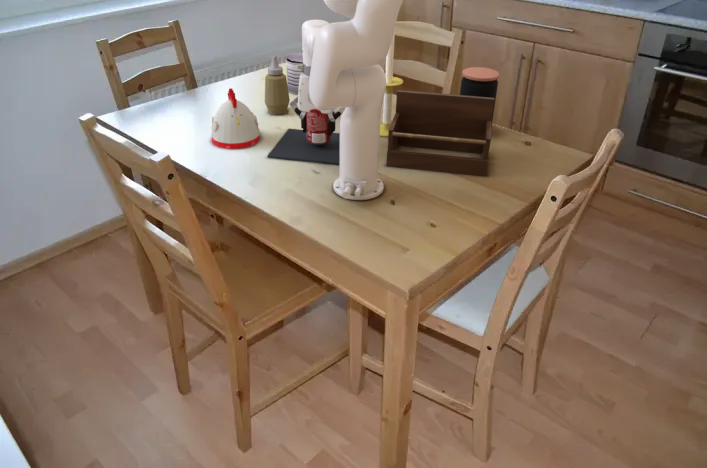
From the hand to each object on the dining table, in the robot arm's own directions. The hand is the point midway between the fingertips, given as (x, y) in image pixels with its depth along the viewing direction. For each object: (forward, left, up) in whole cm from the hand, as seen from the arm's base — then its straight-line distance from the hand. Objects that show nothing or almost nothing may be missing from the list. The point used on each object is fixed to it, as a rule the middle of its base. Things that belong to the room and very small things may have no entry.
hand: (318, 131), depth 165 cm
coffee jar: (+23, -43, -5) cm, 49 cm away
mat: (0, 0, -5) cm, 5 cm away
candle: (+17, -17, -5) cm, 25 cm away
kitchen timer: (0, +25, -5) cm, 25 cm away
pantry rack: (0, -34, -5) cm, 34 cm away
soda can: (0, 0, -3) cm, 3 cm away
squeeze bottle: (+24, +20, -5) cm, 32 cm away
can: (+47, +18, -5) cm, 51 cm away
